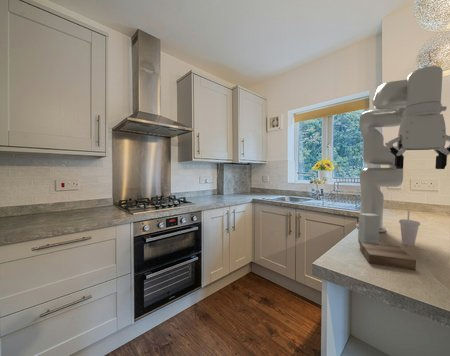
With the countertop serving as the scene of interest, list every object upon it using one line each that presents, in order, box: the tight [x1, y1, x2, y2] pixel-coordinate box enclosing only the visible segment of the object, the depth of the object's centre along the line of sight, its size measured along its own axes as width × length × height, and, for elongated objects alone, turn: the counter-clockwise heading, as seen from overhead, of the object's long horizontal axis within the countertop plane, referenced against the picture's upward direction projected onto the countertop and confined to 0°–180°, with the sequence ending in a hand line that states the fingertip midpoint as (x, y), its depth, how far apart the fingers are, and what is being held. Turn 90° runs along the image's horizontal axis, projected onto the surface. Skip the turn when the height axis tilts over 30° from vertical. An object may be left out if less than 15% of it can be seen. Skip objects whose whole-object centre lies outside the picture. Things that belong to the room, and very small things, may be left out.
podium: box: [359, 241, 417, 271], centre depth 70 cm, size 12×12×3 cm
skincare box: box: [357, 213, 380, 244], centre depth 85 cm, size 6×4×12 cm
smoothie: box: [398, 210, 421, 247], centre depth 83 cm, size 6×6×14 cm
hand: (419, 168), depth 62 cm, fingers open, 9 cm apart
